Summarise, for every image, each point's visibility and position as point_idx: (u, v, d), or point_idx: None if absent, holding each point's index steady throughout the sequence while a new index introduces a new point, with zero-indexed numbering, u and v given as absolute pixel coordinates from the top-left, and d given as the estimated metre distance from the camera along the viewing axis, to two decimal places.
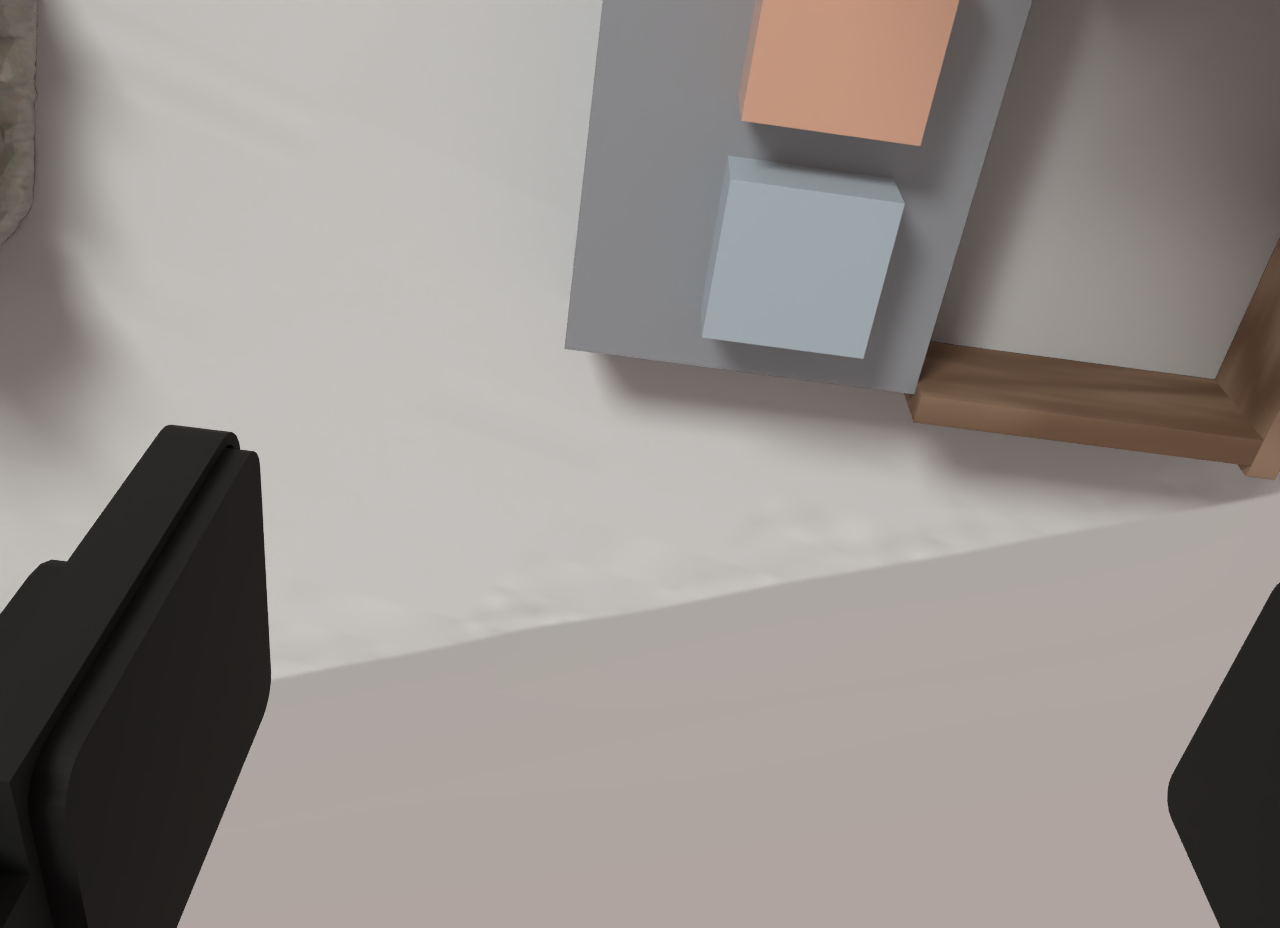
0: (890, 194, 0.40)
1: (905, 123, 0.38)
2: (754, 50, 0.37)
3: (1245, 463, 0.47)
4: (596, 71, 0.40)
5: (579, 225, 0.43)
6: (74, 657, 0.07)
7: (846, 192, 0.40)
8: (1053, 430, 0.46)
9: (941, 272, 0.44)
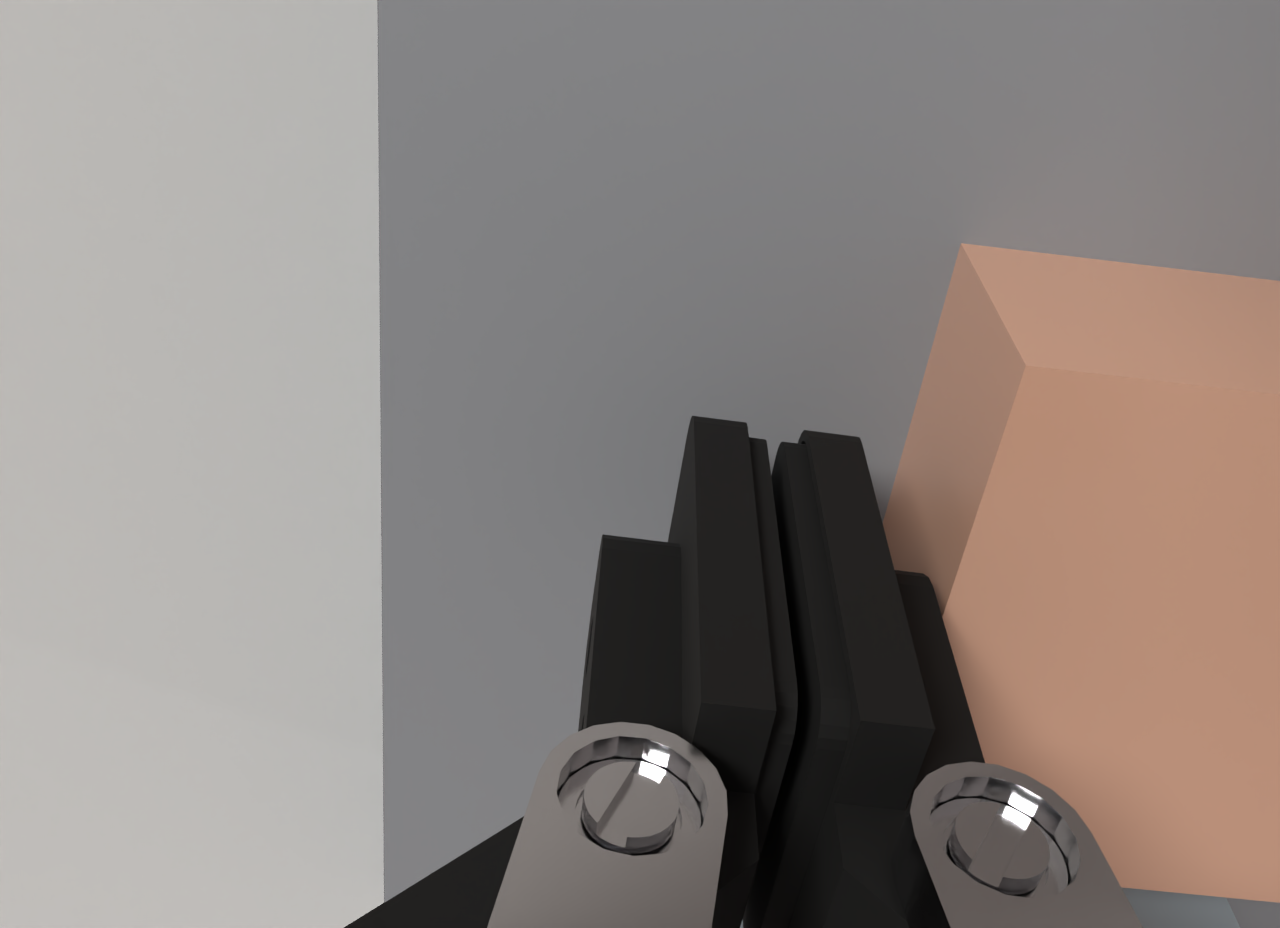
0: None
1: None
2: None
3: None
4: (385, 631, 0.14)
5: None
6: (755, 611, 0.09)
7: None
8: None
9: None
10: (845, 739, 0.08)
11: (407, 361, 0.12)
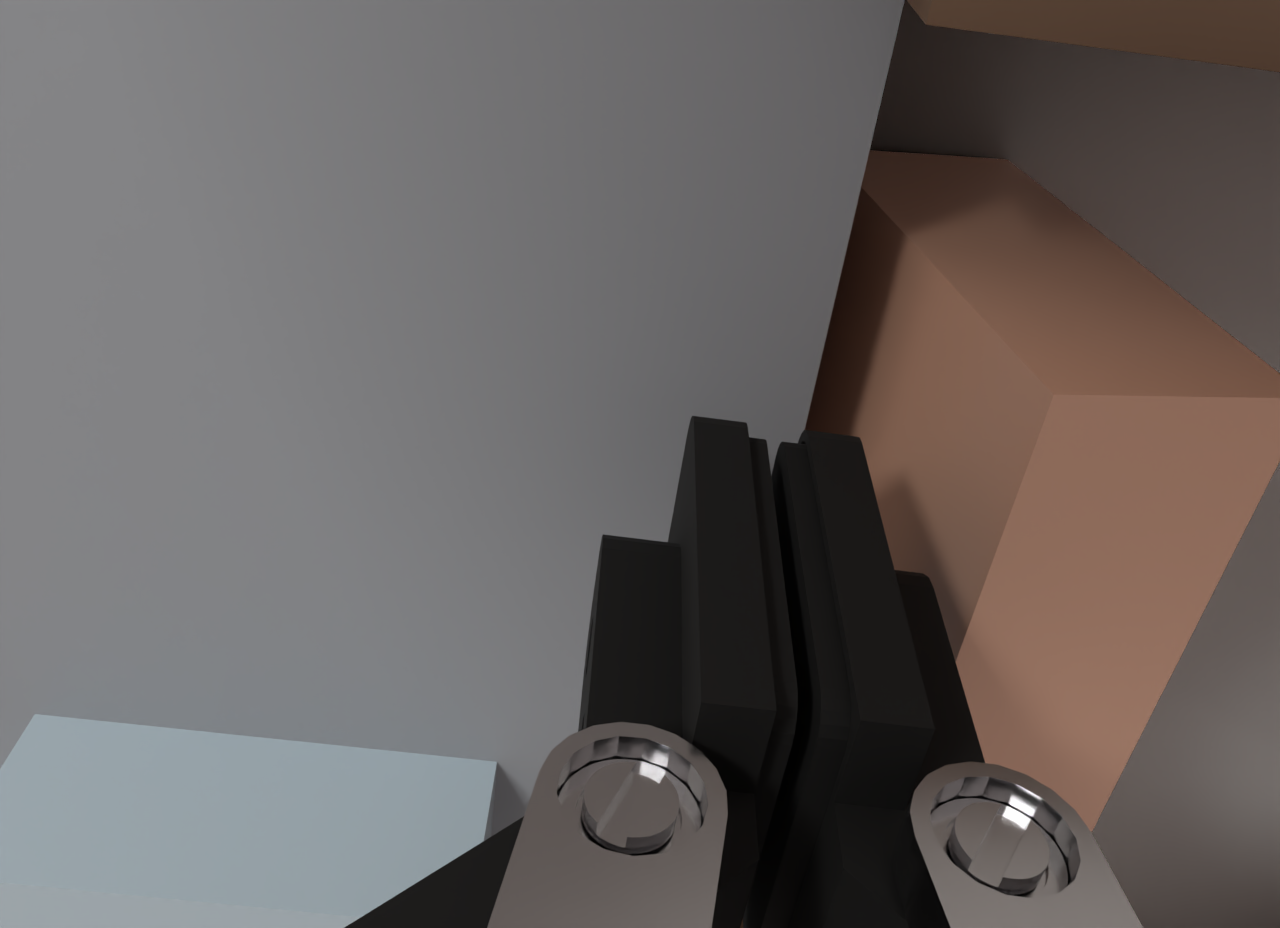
0: None
1: None
2: (1147, 707, 0.12)
3: None
4: None
5: None
6: (755, 611, 0.09)
7: (301, 888, 0.14)
8: None
9: None
10: (845, 739, 0.08)
11: None
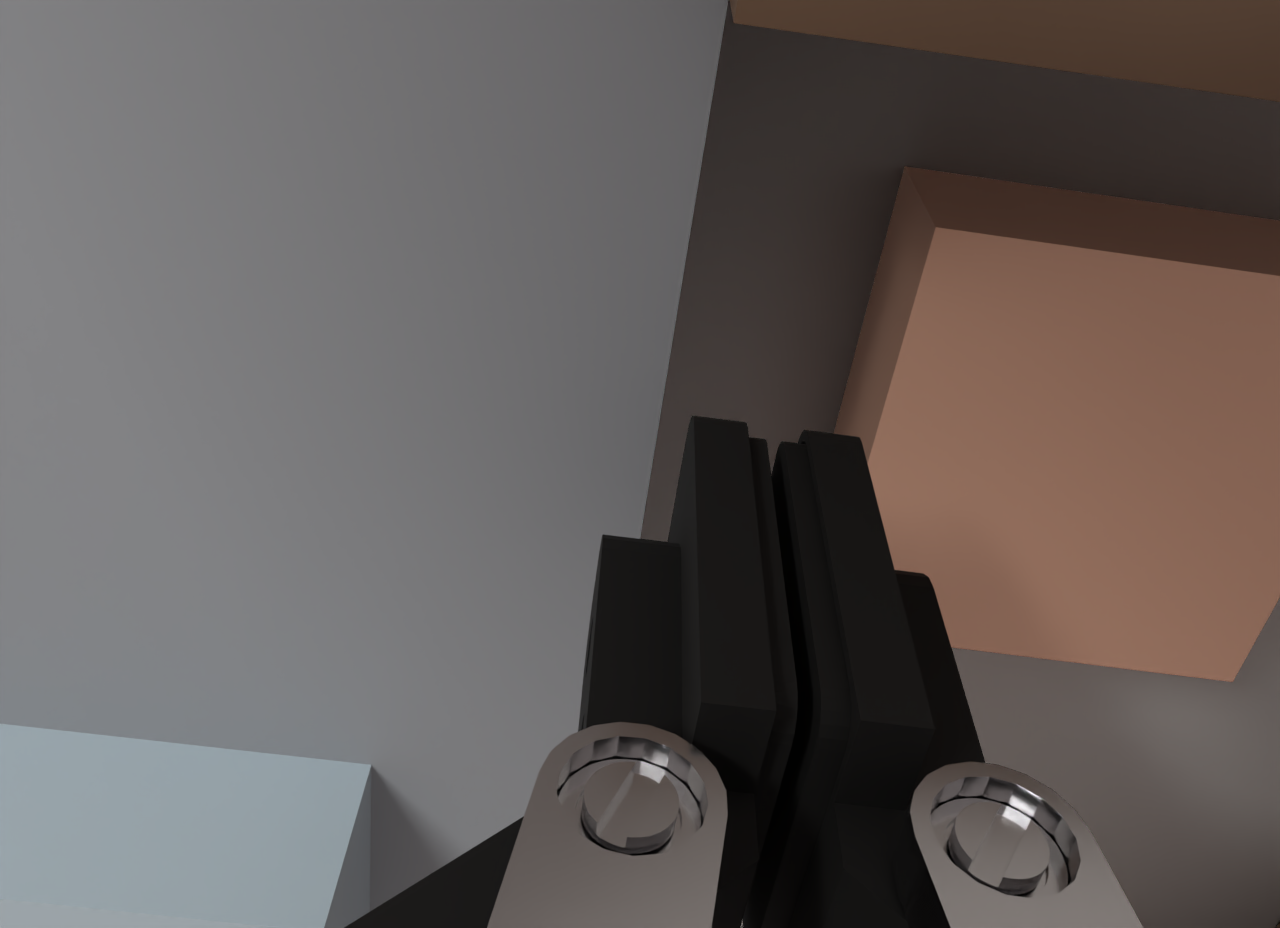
0: (306, 874, 0.14)
1: None
2: None
3: None
4: None
5: None
6: (755, 611, 0.09)
7: (155, 891, 0.13)
8: None
9: None
10: (845, 739, 0.08)
11: None
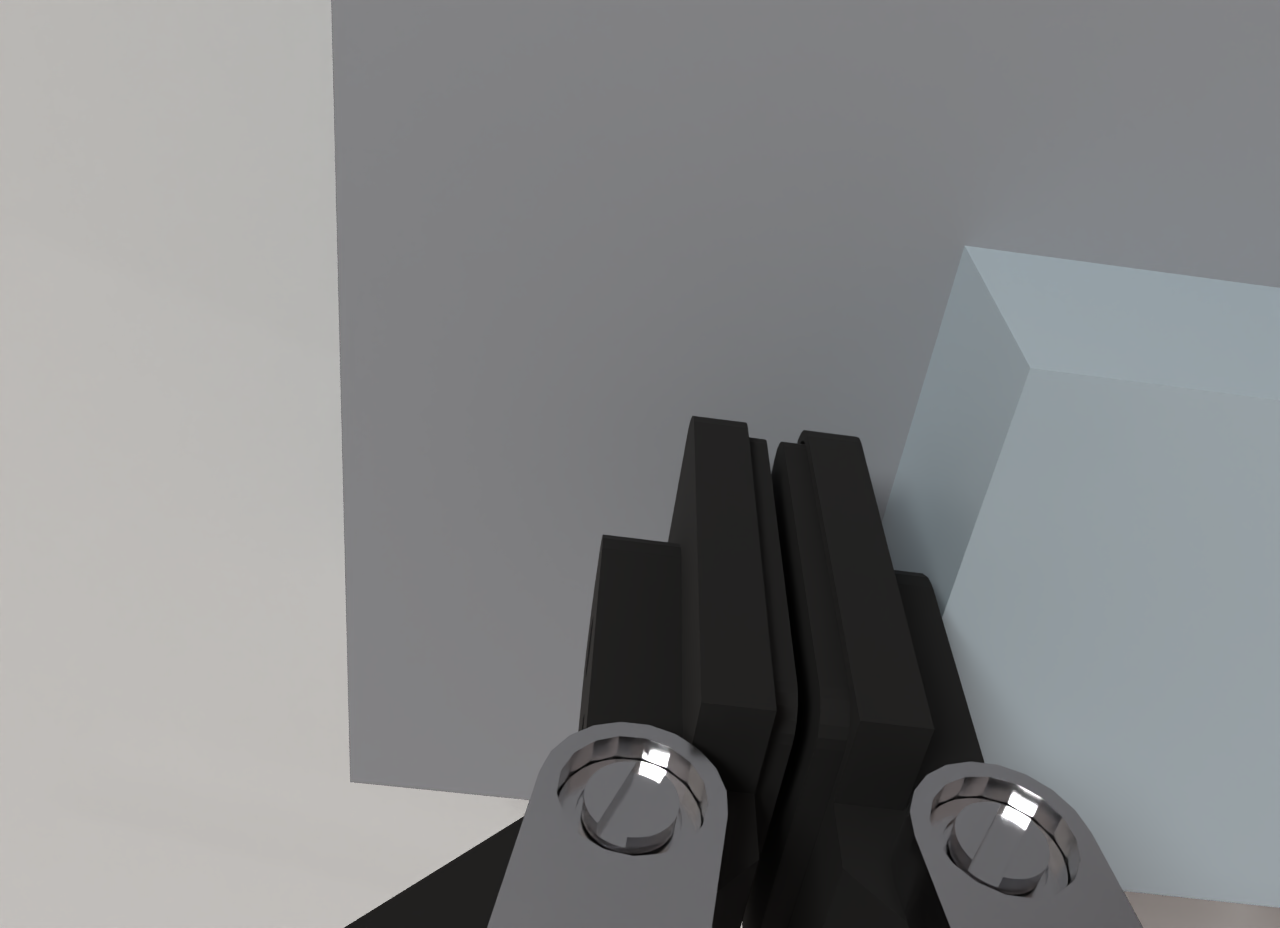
0: None
1: None
2: None
3: None
4: None
5: (347, 460, 0.13)
6: (755, 611, 0.09)
7: None
8: None
9: None
10: (844, 739, 0.08)
11: None
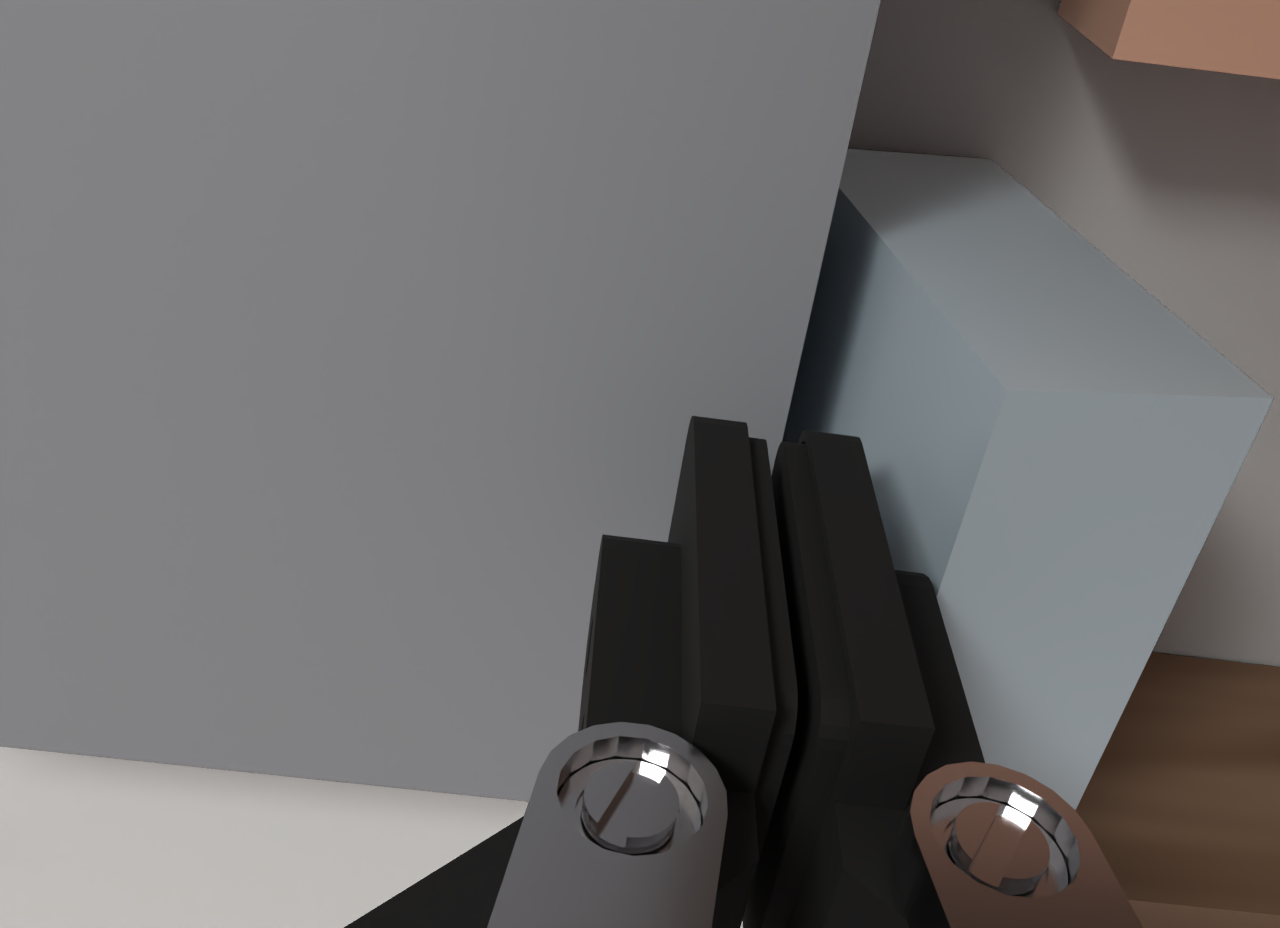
0: (948, 165, 0.14)
1: None
2: None
3: None
4: None
5: None
6: (755, 611, 0.09)
7: (1036, 216, 0.13)
8: None
9: None
10: (844, 739, 0.08)
11: None
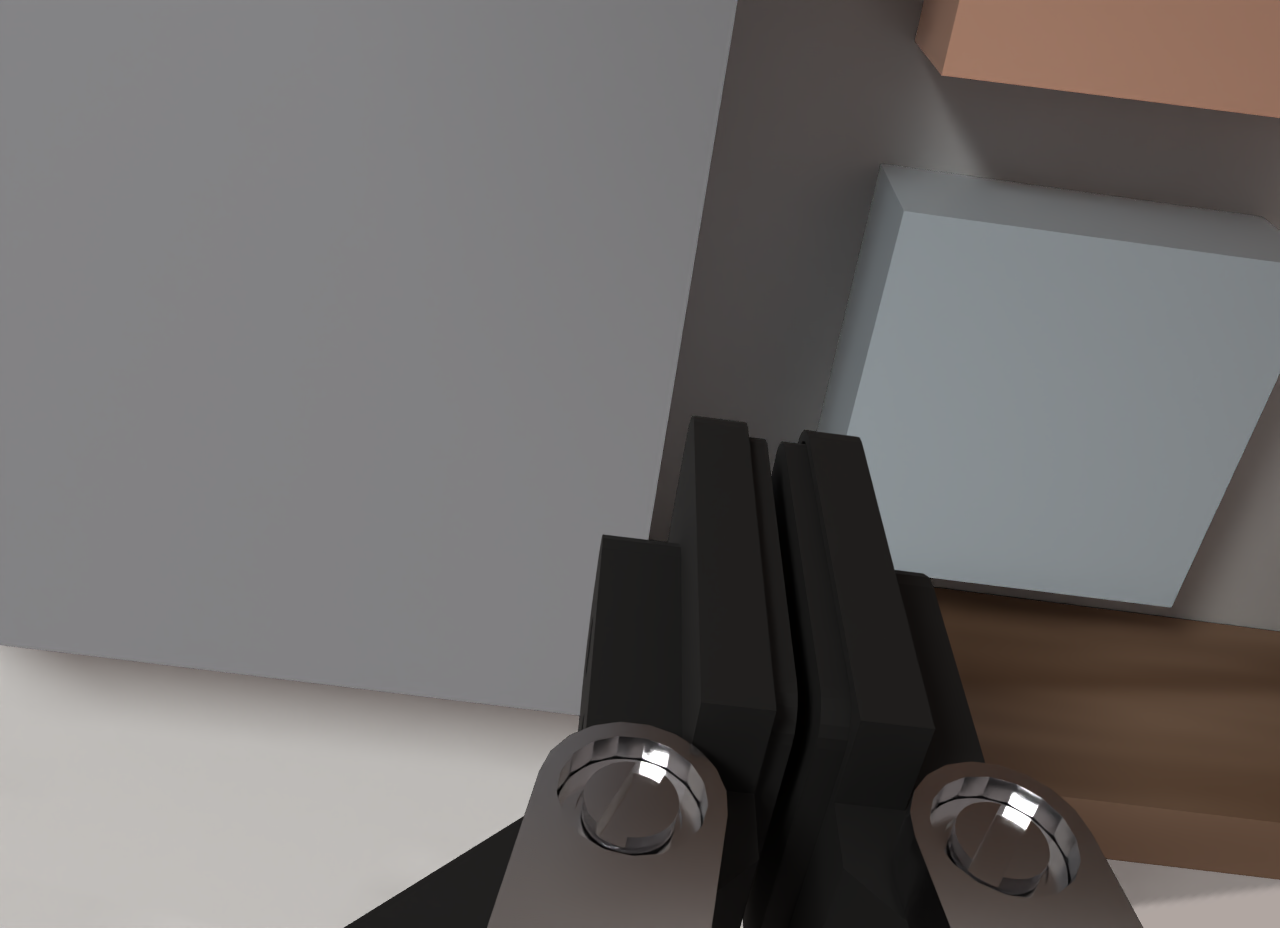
0: (909, 175, 0.18)
1: None
2: None
3: None
4: None
5: None
6: (755, 611, 0.09)
7: (1007, 181, 0.18)
8: None
9: (641, 431, 0.16)
10: (845, 739, 0.08)
11: None
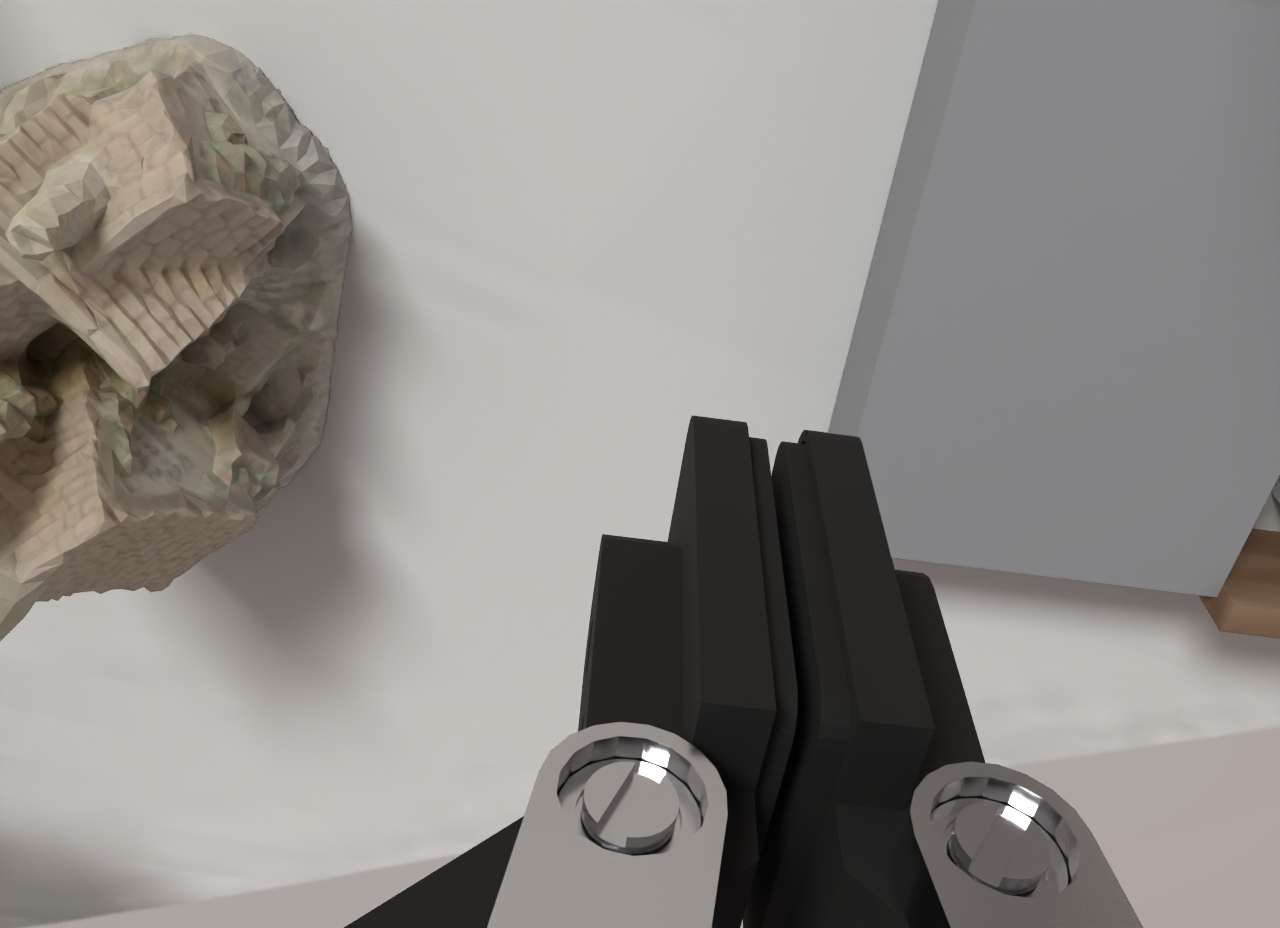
0: None
1: None
2: None
3: None
4: (905, 262, 0.35)
5: (861, 423, 0.38)
6: (755, 611, 0.09)
7: None
8: None
9: (1270, 473, 0.38)
10: (845, 739, 0.08)
11: (947, 140, 0.33)
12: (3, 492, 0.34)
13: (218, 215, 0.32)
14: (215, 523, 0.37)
